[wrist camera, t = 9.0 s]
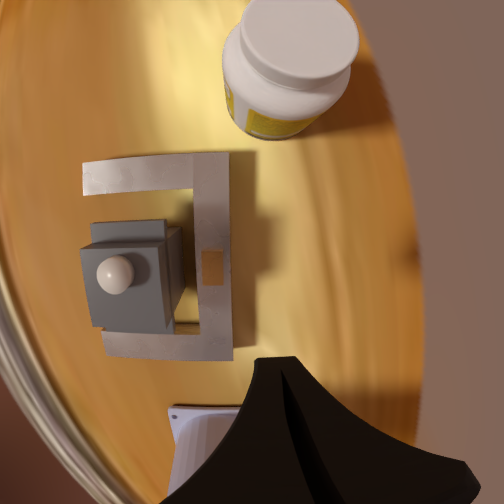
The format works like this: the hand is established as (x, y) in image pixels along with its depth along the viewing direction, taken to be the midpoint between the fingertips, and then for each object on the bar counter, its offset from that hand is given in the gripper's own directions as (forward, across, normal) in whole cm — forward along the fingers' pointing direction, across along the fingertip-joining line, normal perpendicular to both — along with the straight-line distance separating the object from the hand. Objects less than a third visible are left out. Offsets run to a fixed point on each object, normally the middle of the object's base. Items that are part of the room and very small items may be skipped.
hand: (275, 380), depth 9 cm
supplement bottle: (+11, -1, -11) cm, 16 cm away
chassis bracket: (+10, +6, -1) cm, 12 cm away
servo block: (+10, +7, -1) cm, 13 cm away
